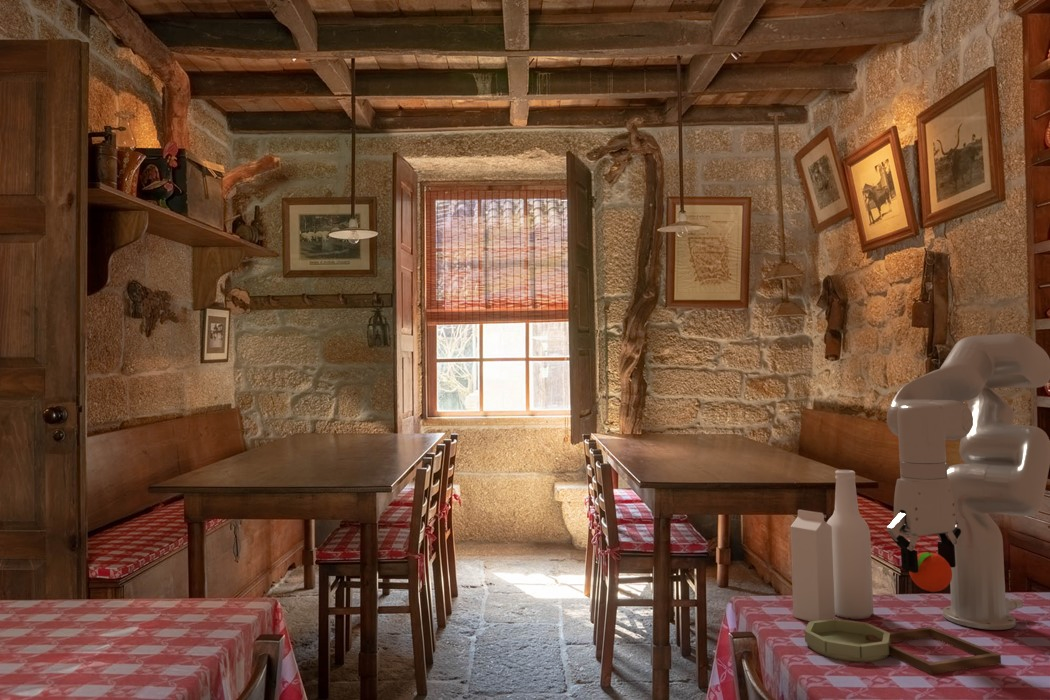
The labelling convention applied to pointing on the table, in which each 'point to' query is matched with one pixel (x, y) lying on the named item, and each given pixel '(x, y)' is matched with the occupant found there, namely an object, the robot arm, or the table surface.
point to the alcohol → (850, 552)
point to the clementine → (932, 572)
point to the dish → (847, 640)
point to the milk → (812, 567)
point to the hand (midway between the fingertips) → (928, 567)
